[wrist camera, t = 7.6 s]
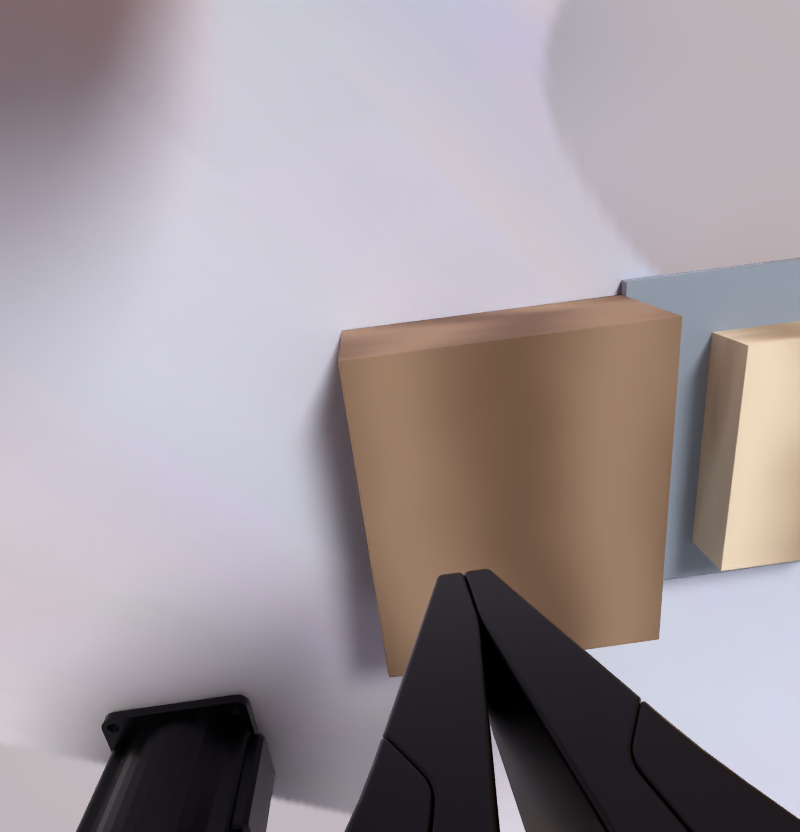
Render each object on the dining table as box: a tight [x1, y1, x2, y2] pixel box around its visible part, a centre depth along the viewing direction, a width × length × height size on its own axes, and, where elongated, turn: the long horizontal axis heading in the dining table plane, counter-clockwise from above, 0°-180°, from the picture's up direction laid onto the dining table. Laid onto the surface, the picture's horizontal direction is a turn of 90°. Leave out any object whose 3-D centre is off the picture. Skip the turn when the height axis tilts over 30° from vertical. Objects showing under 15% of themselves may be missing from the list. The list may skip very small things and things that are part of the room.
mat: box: [621, 258, 800, 580], centre depth 22 cm, size 10×13×1 cm
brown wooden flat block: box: [338, 295, 682, 677], centre depth 20 cm, size 10×12×4 cm
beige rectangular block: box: [692, 321, 800, 571], centre depth 21 cm, size 6×9×2 cm, turn 7°
